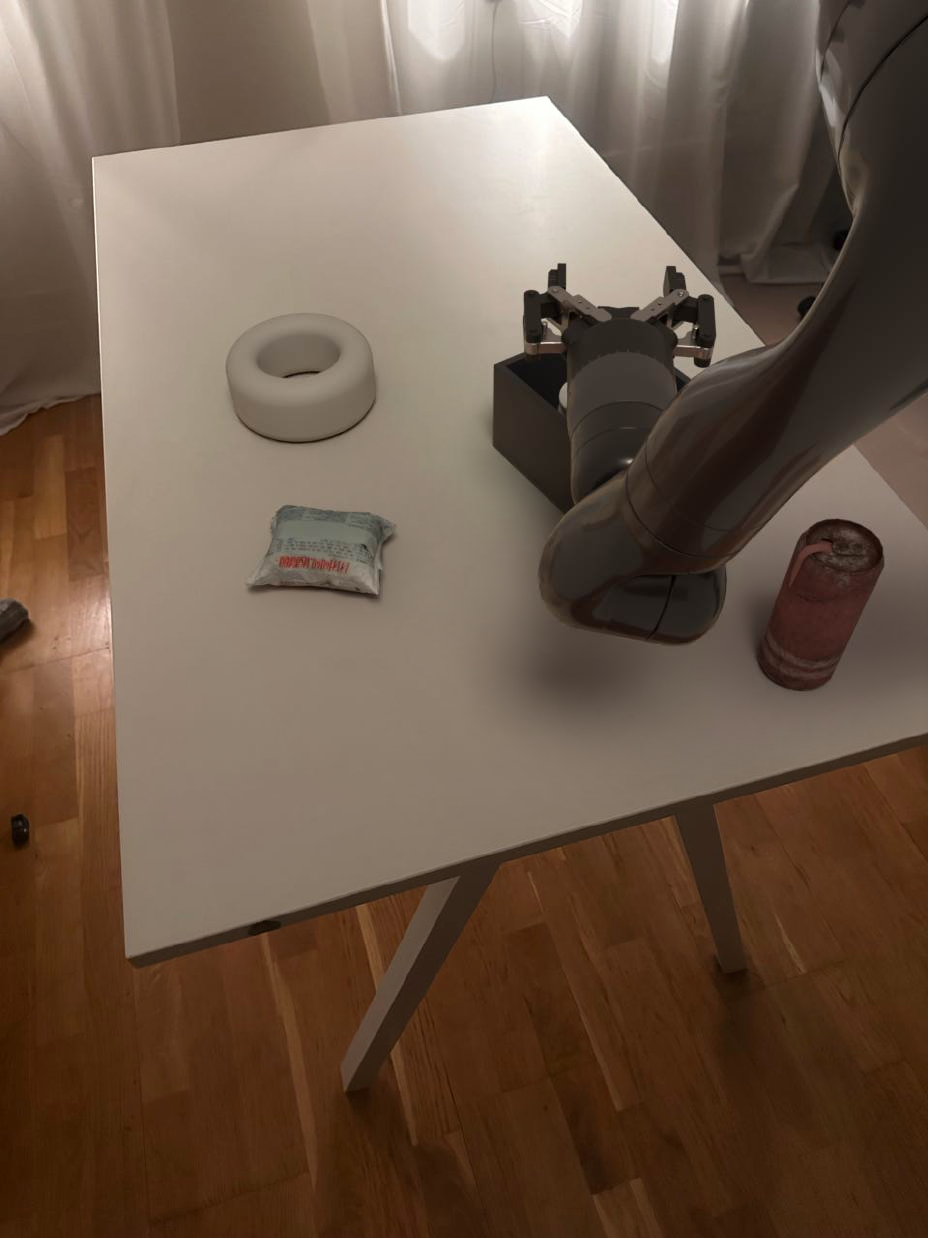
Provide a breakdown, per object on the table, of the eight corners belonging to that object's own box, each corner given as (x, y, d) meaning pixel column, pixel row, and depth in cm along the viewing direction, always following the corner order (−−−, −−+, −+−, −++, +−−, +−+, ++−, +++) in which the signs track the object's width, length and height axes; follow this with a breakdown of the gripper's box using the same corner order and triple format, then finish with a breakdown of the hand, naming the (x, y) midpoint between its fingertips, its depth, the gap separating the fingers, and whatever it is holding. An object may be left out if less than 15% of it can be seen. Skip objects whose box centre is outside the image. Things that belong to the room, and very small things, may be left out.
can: (739, 647, 80) (780, 527, 69) (805, 626, 81) (855, 505, 70) (780, 703, 76) (829, 586, 65) (848, 680, 77) (907, 561, 67)
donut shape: (207, 424, 99) (192, 370, 94) (283, 346, 108) (273, 293, 103) (332, 462, 95) (323, 408, 90) (401, 379, 104) (397, 325, 99)
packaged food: (380, 611, 83) (375, 572, 79) (248, 599, 84) (237, 559, 80) (398, 541, 88) (395, 501, 85) (274, 530, 89) (265, 490, 86)
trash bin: (598, 398, 101) (607, 316, 94) (685, 469, 94) (702, 386, 86) (492, 446, 97) (493, 364, 89) (575, 524, 89) (583, 442, 82)
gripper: (737, 357, 62) (713, 231, 73) (519, 351, 63) (526, 227, 74) (716, 447, 68) (696, 318, 79) (516, 440, 69) (523, 314, 79)
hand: (614, 274), depth 76 cm, fingers open, 8 cm apart
